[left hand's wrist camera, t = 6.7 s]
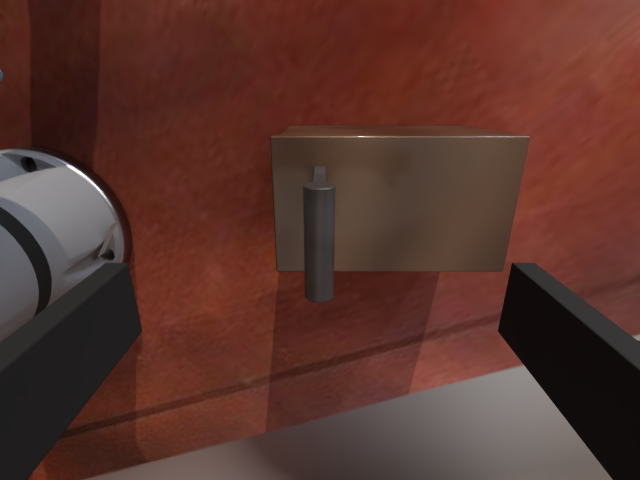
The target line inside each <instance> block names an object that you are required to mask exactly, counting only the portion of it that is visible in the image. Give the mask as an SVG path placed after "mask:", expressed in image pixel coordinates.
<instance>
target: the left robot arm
mask: <svg viewBox="0 0 640 480" xmlns="http://www.w3.org/2000/svg"><path fill="white" fill-rule="evenodd" d="M2 78H3V73H2V71H1V70H0V82H1V81H2ZM130 253H131V231H130V226H129V222H128V219H127V216H126V214H125V211H124V209H123V207H122V205H121V203H120V202H119V200H118V198H117V197H116V195H115V194H114V193H113V191H112V190H111V189H110V187H109V186H108V185H107V184H106V183H105V182H104V181H103V180H102V179H101V178H100V177H99V176H98V175H97V174H96V173H94V172H93V171H92V170H91V169H89V168H88V167H86V166H85V165H84V164H82V163H80V162H79V161H77V160H75V159H73V158H71V157H69V156H67V155H64V154H62V153H59V152H56V151H53V150H49V149H44V148H38V147H17V148H10V149H3V150H0V480H27V479H28V478H29V477H30V475H31V474H32V473H33V471H34V470H35V469H36V468H37V466H38V465H39V464H40V462H41V461H42V460H43V458H44V457H45V456H46V455H47V453H48V452H49V451H50V449H51V448H52V447H53V446H54V444H55V443H56V442H57V440H58V439H59V438H60V437H61V435H62V434H63V433H64V431H65V430H66V429H67V427H68V426H69V425H70V424H71V422H72V421H73V420H74V418H75V417H76V416H77V415H78V413H79V412H80V411H81V409H82V408H83V407H84V405H85V404H86V403H87V402H88V400H89V399H90V398H91V396H92V395H93V394H94V393H95V391H96V390H97V389H98V387H99V386H100V385H101V384H102V382H103V381H104V380H105V378H106V377H107V376H108V374H109V373H110V372H111V371H112V369H113V368H114V367H115V365H116V364H117V363H118V362H119V360H120V359H121V358H122V356H123V355H124V354H125V352H126V351H127V350H128V349H129V347H130V346H131V345H132V343H133V342H134V341H135V340H136V338H137V337H138V336H139V334H140V333H141V332H142V329H141V324H140V319H139V314H138V309H137V304H136V300H135V295H134V290H133V285H132V280H131V275H130V271H129V266H128V261H129V257H130ZM498 332H499V333H500V334H501V336H502V337H503V338H504V340H505V341H506V342H507V343H508V345H509V346H510V347H511V349H512V350H513V351H514V352H515V354H516V355H517V356H518V358H519V359H520V360H521V362H522V363H523V364H524V365H525V367H526V368H527V369H528V371H529V372H530V373H531V374H532V376H533V377H534V378H535V380H536V381H537V382H538V383H539V385H540V386H541V387H542V389H543V390H544V391H545V393H546V394H547V395H548V396H549V398H550V399H551V400H552V402H553V403H554V404H555V405H556V407H557V408H558V409H559V411H560V412H561V413H562V414H563V416H564V417H565V418H566V420H567V421H568V422H569V424H570V425H571V426H572V427H573V429H574V430H575V431H576V433H577V434H578V435H579V437H580V438H581V439H582V440H583V442H584V443H585V444H586V446H587V447H588V448H589V449H590V451H591V452H592V453H593V454H594V456H595V457H596V458H597V460H598V461H599V462H600V464H601V465H602V466H603V468H604V469H605V470H606V471H607V473H608V474H609V475H610V477H611V478H612V479H613V480H640V341H637V340H636V339H635V338H633V337H632V336H631V335H629V334H628V333H627V332H625V331H624V330H623V329H621V328H620V327H619V326H617V325H616V324H615V323H613V322H612V321H611V320H609V319H608V318H607V317H605V316H604V315H603V314H601V313H600V312H599V311H597V310H596V309H595V308H593V307H592V306H591V305H590V304H588V303H587V302H586V301H584V300H583V299H582V298H580V297H579V296H578V295H576V294H575V293H574V292H572V291H571V290H570V289H568V288H567V287H566V286H564V285H563V284H562V283H560V282H559V281H558V280H556V279H555V278H554V277H552V276H551V275H550V274H548V273H547V272H546V271H544V270H543V269H542V268H540V267H539V266H538V265H537V264H535V263H512V266H511V271H510V275H509V280H508V285H507V290H506V295H505V300H504V304H503V309H502V314H501V319H500V324H499V329H498Z"/></svg>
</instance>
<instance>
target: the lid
mask: <svg viewBox="0 0 640 480" xmlns="http://www.w3.org/2000/svg"><path fill="white" fill-rule="evenodd" d="M529 139H530V137H529V136H524V135H272V136H271V137H270V141H271V162H272V183H273V205H274V226H275V247H276V268H277V271H305V297H306V298H307V299H308V300H310V301H312V302H327V301H329V300H331V299H332V298H333V296H334V271H441V272H502V271H503V269H504V264H505V259H506V254H507V249H508V244H509V239H510V234H511V229H512V224H513V219H514V214H515V209H516V204H517V199H518V194H519V189H520V184H521V179H522V174H523V169H524V164H525V159H526V154H527V149H528V144H529Z"/></svg>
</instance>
